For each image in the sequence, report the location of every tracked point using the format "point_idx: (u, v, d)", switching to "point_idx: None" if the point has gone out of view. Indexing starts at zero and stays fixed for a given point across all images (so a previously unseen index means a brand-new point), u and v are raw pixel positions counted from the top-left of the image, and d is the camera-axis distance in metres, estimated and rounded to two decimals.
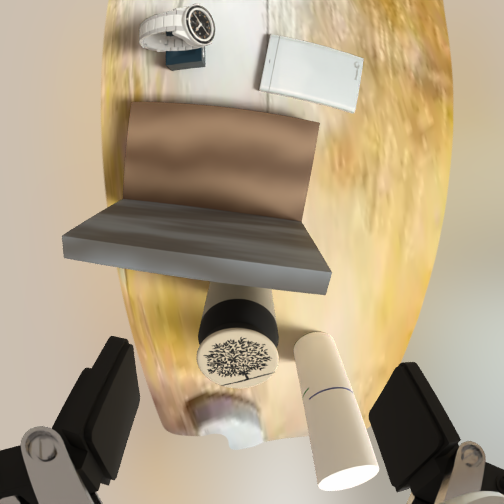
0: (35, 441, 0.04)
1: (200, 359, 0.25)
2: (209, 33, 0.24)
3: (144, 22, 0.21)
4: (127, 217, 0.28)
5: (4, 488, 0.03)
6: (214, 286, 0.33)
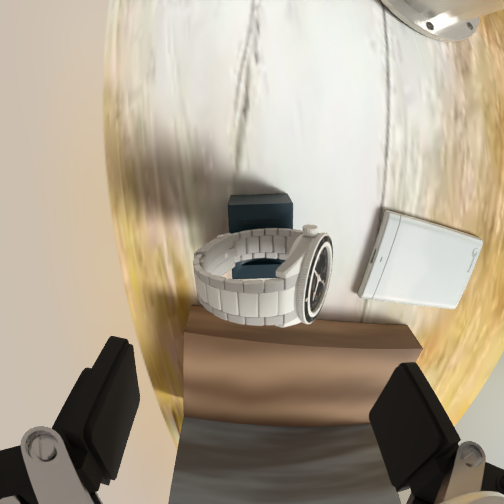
0: (35, 441, 0.04)
1: None
2: (325, 278, 0.17)
3: (210, 282, 0.14)
4: (212, 477, 0.21)
5: (4, 488, 0.03)
6: None
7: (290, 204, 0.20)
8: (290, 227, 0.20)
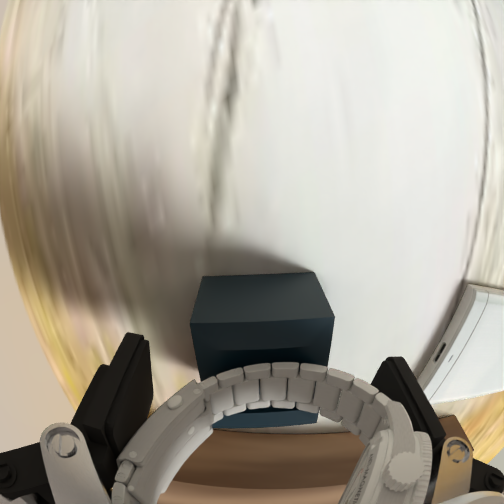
0: (55, 438, 0.05)
1: None
2: None
3: None
4: None
5: (20, 487, 0.03)
6: None
7: (329, 319, 0.09)
8: (324, 358, 0.09)
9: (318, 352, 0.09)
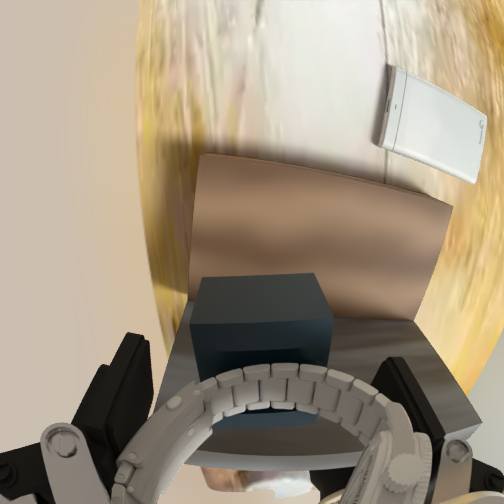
0: (55, 437, 0.05)
1: None
2: None
3: None
4: None
5: (21, 488, 0.03)
6: None
7: (329, 320, 0.09)
8: (323, 359, 0.09)
9: (318, 353, 0.09)
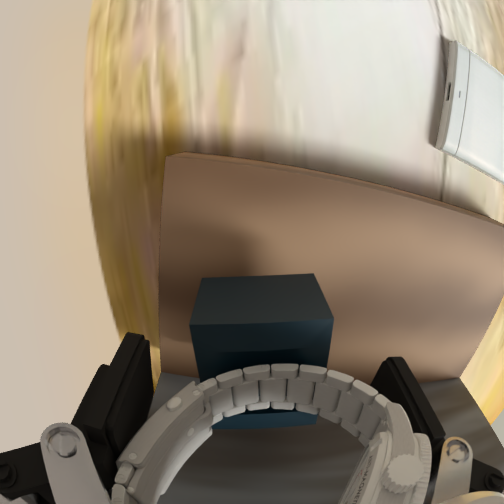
0: (55, 438, 0.05)
1: None
2: None
3: None
4: (211, 486, 0.10)
5: (21, 487, 0.03)
6: None
7: (328, 320, 0.09)
8: (323, 360, 0.09)
9: (317, 353, 0.09)
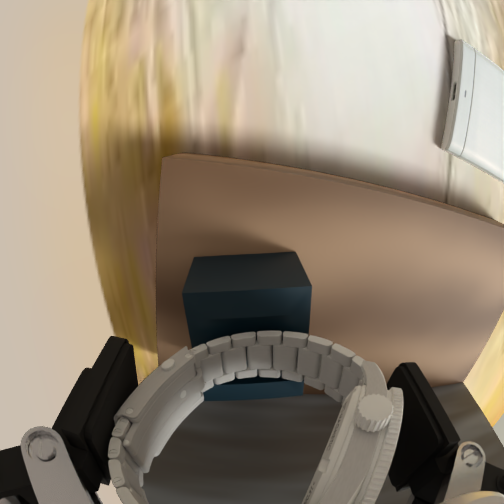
0: (35, 441, 0.04)
1: None
2: None
3: None
4: (211, 497, 0.09)
5: (4, 488, 0.03)
6: None
7: (307, 288, 0.10)
8: (305, 327, 0.10)
9: (299, 321, 0.10)
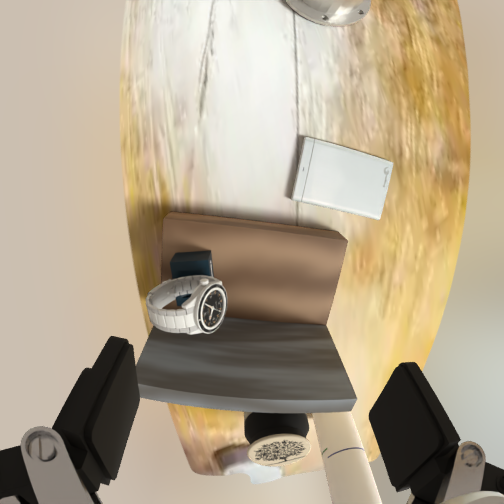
0: (35, 441, 0.04)
1: (250, 453, 0.28)
2: (222, 307, 0.29)
3: (151, 310, 0.26)
4: (178, 344, 0.31)
5: (4, 488, 0.03)
6: None
7: (206, 260, 0.32)
8: (208, 274, 0.32)
9: (206, 272, 0.32)
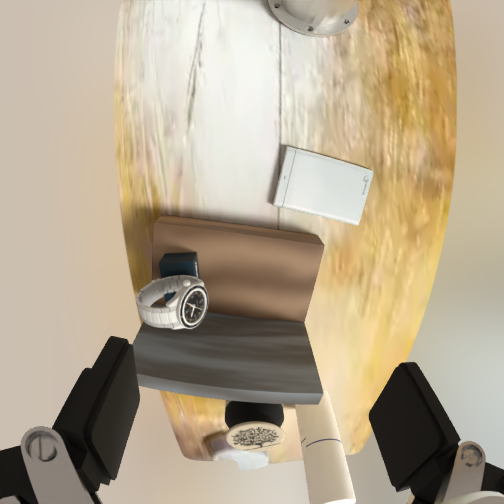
0: (35, 441, 0.04)
1: (228, 437, 0.32)
2: (203, 305, 0.32)
3: (140, 307, 0.29)
4: (165, 337, 0.34)
5: (4, 488, 0.03)
6: None
7: (191, 262, 0.35)
8: (193, 274, 0.36)
9: (191, 272, 0.35)
